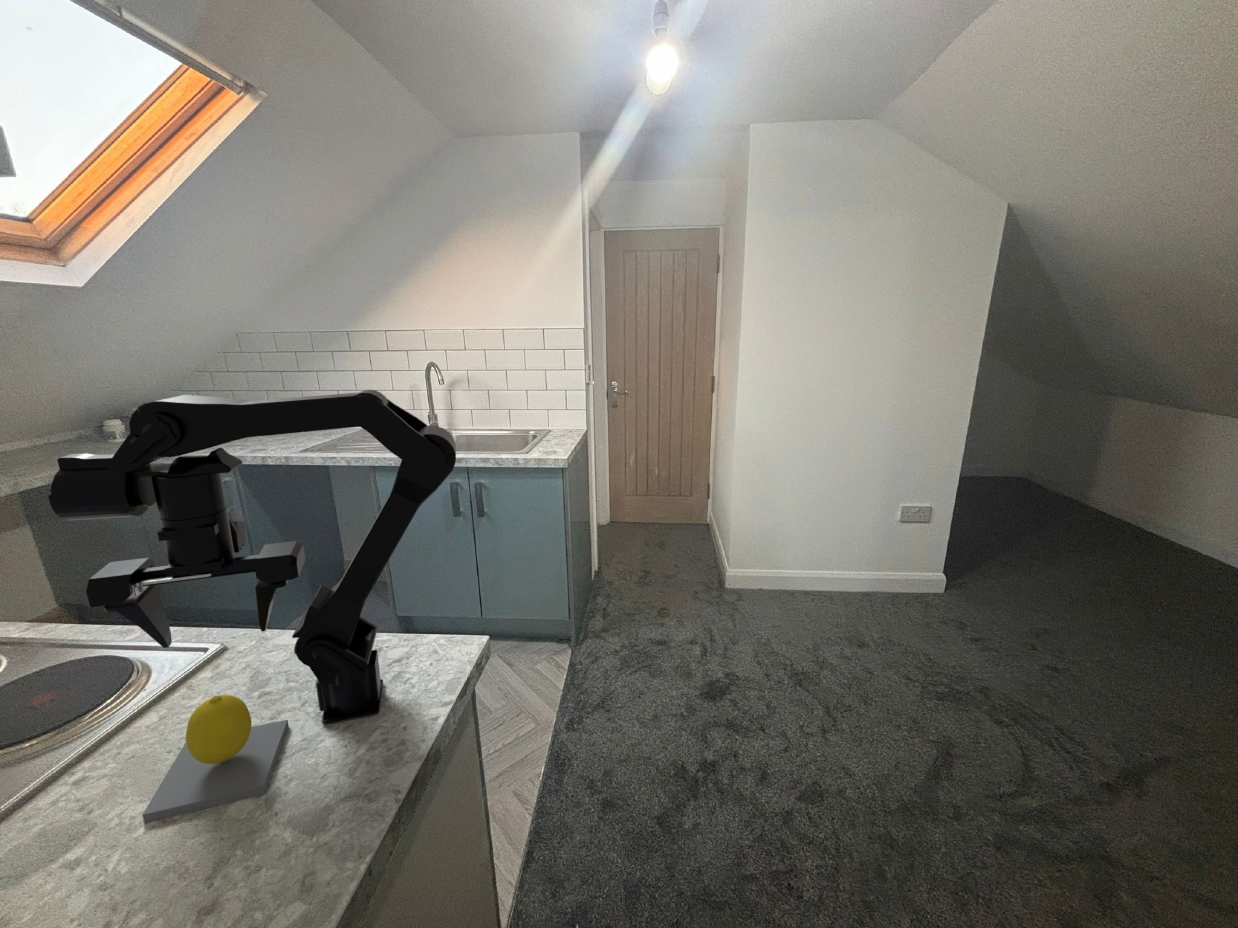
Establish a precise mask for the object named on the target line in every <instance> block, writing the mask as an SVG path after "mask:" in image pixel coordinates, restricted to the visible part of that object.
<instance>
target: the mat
mask: <svg viewBox="0 0 1238 928" xmlns="http://www.w3.org/2000/svg"><path fill="white" fill-rule="evenodd" d="M288 729H289V720H288V719H284V720H280V721H279V720H278V721H274V722H270V723H269V722H268V723H265V724H264V723H263V724H260V725H255V726H251V731H250V736H249V738H248V740H247V742H246V744H245V745H244V747H243V748H242V749H241V750H240V751H239V752H238V753H237V754H236V755H234V756H233V757H231V758H230V759H228V760H227V761H226V762H223V763H221V762H220V763H215V764H206V763H202V762H199V761H198V760H196V759H195V758H194V757H193V756H192V755H191V753H190V751H189V749H188V747H187V744H186V742H185V743H184V744H183V746H182V747H181V749H180V750H179V753H178V755H177V757H175V760H174V761H173V763H172V765H171V766H170V767H169V769H168V772H166V775H165V776H164V778H163V779H162V781H161V783H160V785H159V786H158V788H157V790H156V791H155V793H154V795H153V796H152V798H151V799H150V802H149V803H148V804H147V806H146V808H145V809H144V811H143V813H142V819H143V823H144V824H145V823H150V822H154V821H158V820H163V819H167V818H171V817H176V816H180V815H184V814H188V813H192V812H196V811H201V810H203V809H208V808H212V807H217V806H221V805H224V804H229V803H233V802H236V801H242V800H246V799H251V798H255V797H258V796H262V795H265V793H266V790H267V788H268V786H269V782H270V780H271V778H272V774H273V771H274V768H275V765H276V763H277V760H278V757H279V754H280V752H281V750H282V749H281V748H282V746H283V744H284V741H285V737H286V736H287V734H288V733H287V732H288Z"/></svg>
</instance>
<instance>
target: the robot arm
mask: <svg viewBox="0 0 1238 928" xmlns="http://www.w3.org/2000/svg"><path fill="white" fill-rule="evenodd" d="M128 425H129V434H127V437H126V438H125V439H124V441H123V442H122V443H121V445H120V446H119V448H118V449H117V450H116V452H115V453H114V454H111V453H110V454H108V453H107V454H91V453H70V454H68V455H67V454H66V455H64V456H61V457H58V458H57V465H58V468H59V470H58V471H56V473H55V474H54V476H53V478H52V482H51V486H50V493H49V494H48V502H49V505H50V507H51V509H52V510H53V512H54V514H55V515H56V516H57V517H58V518H60V519H62V520H64V521H69V522H70V521H83V520H86V521H88V520H99V519H114V518H118V519H119V518H132V517H139V516H140V517H141V516H142V515H144V514H145V513H146V512H147V510H148V508H149V507H151V506H153V505H155V504H156V508H157V513H158V517H159V522H160V523H159V524H160V527H161V528H160V529H159V530H158V531H157V532H156V534H157V537H158V542H164V547H165V552H166V555H167V561H168V565H161V566H156V563H155V561H154V560H153V559H151V557H142V558H133V559H125V560H115V561H110V562H108V563H107V564H106V565H105V566H104V567H102V568H101V569H100V570H98V571H97V572H96V573H95V574H94V575H92V576H91V577H90V578H89V579H87V581H86V582H85V583H84V584H83V588H82V592H81V593H82V597H83V599H84V603H85V607H88V608H96V607H102V606H103V610H104V611H105V613H111V612H116V613H117V614H119V615H120V616H122V617H123V618H125V619H126V620H128V621H130V622H131V623H133V624H134V625H136V626H137V627H139V629H141V630H142V631H144V632H145V633H146V634H147V635H148V636H149V637H150V638H151V639H153V640H154V641H155V642H156V643H157V644H159V645H160V646H161V647H162V648H164V649H167V648H170V646H171V645H172V643H173V641H172V633H171V628H170V624H169V620H168V618H167V614H166V611H165V608H164V604H163V601H162V585H165V584H172V583H173V584H174V583H181V582H187V581H195V580H202V579H210V578H212V579H213V578H218V577H227V576H233V575H234V576H235V575H242V574H248V573H255V577H256V580H257V579H258V582H257V583H256V585H255V587H254V588H255V590H254V591H255V600H256V610H257V611H256V612H257V619H258V620H257V621H258V626H259V629H260V631H261V632H266V631H267V628H268V624H269V620H270V616H271V612H272V608H273V605H274V599H275V595H276V593H277V590H278V589H281V588H285V587H286V586H287V585H288V583H289V581H292V580H294V579H297V578H299V576H300V574H301V572H302V569H303V567H304V564H305V563H306V553H305V547H304V545H303V544H302V543H300V542H299V541H298V540H293V541H292V540H291V541H283V542H275V543H266V544H264V545H263V547H262V549H261V550H260V552H259V553H258V554H254V555H246V556H238V557H237V556H236V553H237V554H238V553H239V554H240V552H241V551H242V550H243V547H246V546H247V537H246V533H247V532H246V522H245V520H244V521H242V520H241V521H240V520H233V517H232V513H231V510H230V509H228V507H227V502H226V496H225V489H224V484H223V476H222V474H229V473H231V472H233V471H235V470H236V469H238V468H239V467H241V466H242V465H243V460H241V459H240V458H238V457H236V456H234V455H232V454H230V453H229V452H227V451H226V450H225V449H224V448H223V447H218V446H220V445H224V444H228V443H231V442H235V441H238V440H242V439H246V438H254V437H255V438H256V437H267V436H274V435H275V436H276V435H277V436H278V435H289V434H296V433H297V434H299V433H308V432H317V431H318V432H319V431H329V430H338V429H339V430H341V429H350V428H361V429H363V430H365V432H367V433H369V435H371V436H372V437H373V438H374V439H376V440H377V441H378V442H379V443H380V444H381V445H382V446H384V448H385V449H387V450H388V451H389V452H390V453H391V454H393V455H395V456H396V457H397V458H399V459H401V461H400V464H399V466H398V467H399V468H398V469H397V473H396V477H395V480H394V482H393V486H392V489H391V491H390V493H389V495H388V496H387V498H386V500H385V502H384V503H383V505H382V507H381V508H380V510H379V511H378V514H377V516H376V517H375V519H374V521H373V523H372V524H371V526H370V528H369V529H368V530H367V533H366V535H365V537H364V539H363V540H362V542H361V543H360V546H359V547H358V549H357V551H356V553H355V554H354V556H353V557H352V560H351V562H350V563H349V565H348V566H347V568H346V571H345V572H344V573H343V575H342V578H340V580H339V581H338V582H337V583H336V584H335V585H334V586H333V587H332V588H331V589H330V588H329V587H327V586H325V585H323V584H320V586H319V588H318V590H317V591H316V594H315V595H314V597H313V599H312V601H311V602H310V605H309V606H308V607H307V608H306V610H305V612H304V614H303V616H302V617H301V619H300V621H299V623H298V625H297V626H296V628H295V630H294V632H293V634H292V635H291V638H293V639H296V642H295V644H294V647H293V648H294V649H293V650H294V651H293V652H294V654H295V655H296V657H297V659H298V660H299V661H300V662H301V663H302V664H303V665H305V666H307V667H309V669H310V671H311V673H313V675H314V676H315V678H316V679H317V680H316V683H315V687H316V693H317V701H318V702H317V703H318V708H319V710H318V711H320V712H323V714H322V717H321V724H322V725H327V724H333V723H337V722H342V721H343V722H344V721H347V720H353V719H358V718H362V717H367V716H372V715H376V714H379V712H380V709H381V703H382V695H383V688H384V680H383V679H381V673H380V665H379V654H378V650H377V649H373V647H374V644H375V640H376V636H377V632H378V626H377V625H375V624H373V623H371V622H370V621H368V620H366V619H365V618H363V617H362V616H361V614H362V611H363V608H364V605H365V603H366V601H367V599H368V597H369V596H370V593H371V592H372V590H373V588H374V587H375V585H376V583H377V581H378V580H379V578H380V576H381V574H382V573H383V570H384V568H385V567H386V566H387V564H388V562H389V560H391V559H390V558H391V557H392V555H393V554H394V551H395V549H396V548H397V546H398V545H399V543H400V542H401V540H402V538H403V536H404V534H405V532H406V531H407V529H408V527H409V525H410V523H411V522H412V520H413V518H414V516H415V515H416V513H417V511H418V510H419V508H420V507H421V506H422V505H423V504H424V503H425V502H426V501H427V500H428V499H429V498H430V497H431V496H432V495H433V494H434V493H435V492H437V490H438V489H439V487H440V486H441V485H442V484H443V483H444V481H446V480H447V478H448V477H449V476H450V474H451V473H452V472H453V471H454V469H455V465H456V462H457V444H456V442H455V438H454V437H453V435H452V434H451V433H450V432H449V431H447V430H446V429H445V428H443V427H440V426H437V425H428V424H427V423H425V422H424V421H422V420H421V419H420V418H419V417H417V416H416V415H414V414H412V413H410V412H409V411H407V410H405V409H403V408H402V407H400V406H399V405H397V404H396V403H394V402H392V401H391V400H389V398H387V397H386V395H384V394H383V393H382V392H380V391H378V390H375V389H366V390H365V389H364V390H362V391H359V392H348V393H337V394H335V393H334V394H324V395H322V394H320V395H310V396H299V397H286V398H271V399H260V400H244V399H243V400H242V399H233V398H227V397H220V396H209V395H194V394H182V395H178V396H173V397H167V398H164V399H159V400H154V401H149V402H145V403H143V404H141V405H139V406H137V408H136V409H135V411H134V412H133V413H131V416H130V420H129V422H128ZM213 447H218V448H216V449H213V450H212V451H210V452H209V454H208V455H188V454H191V453H194V452H195V453H196V452H199V451H203V450H207V449H210V448H213ZM185 455H186V456H185ZM173 457H175V459H174V460H173V461H172V462H171V463H170V464H155V465H154V464H153V463H154V462H156V461H160V460H161V459H163V458H173ZM152 464H153V465H152Z"/></svg>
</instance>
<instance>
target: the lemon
mask: <svg viewBox="0 0 1238 928" xmlns="http://www.w3.org/2000/svg"><path fill="white" fill-rule="evenodd" d="M251 727H252V717H251V714H250V710H249V708H248V706H247V705H246V703H245V702H244V701H243V700H242V699H241V698H240V697H238V696H234V695H229V694H224V695H223V694H220V695H213V696H212V697H211V698H209V699H207V700H205V701H204V702H203V703H201V704H200V705H198V706H197V707H196V709H194V711H193V712H192V714H191V716H190V717H189V719H188V722H187V725H186V731H185V733H186V734H185V743H186V744H187V747H188V749H189V751H190V753H191V755H192V756H193V757H194V758H195V759H196V760H198V761H199V762H202V763H206V764H215V763H220V762H221V763H223V762H226V761H227V760H228V759H230V758H231V757H233V756H234V755H236V754H237V753H238V752H239V751H240V750H241V749H242V748H243V747H244V745H245V744H246V742H247V740H248V738H249V736H250V731H251Z"/></svg>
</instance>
